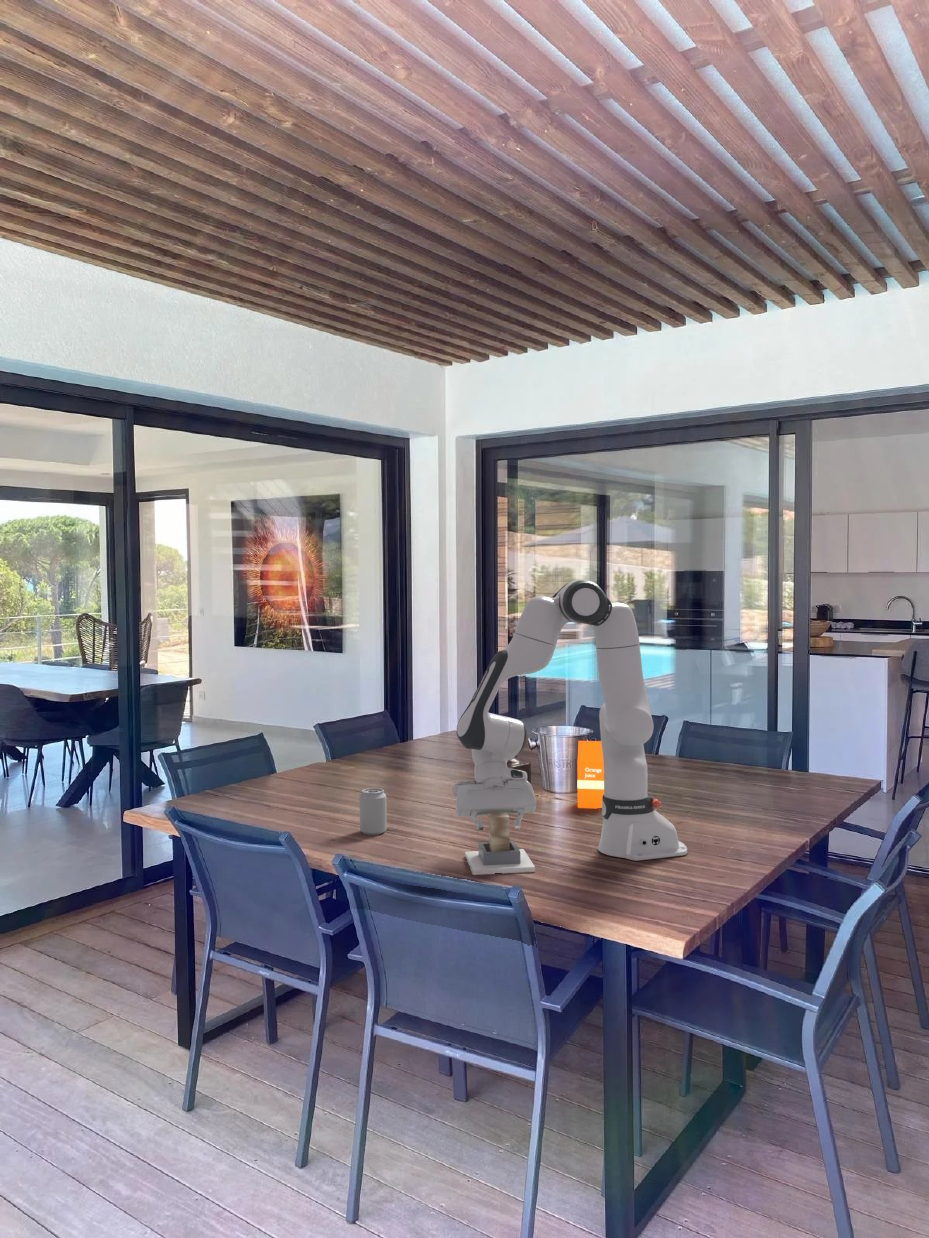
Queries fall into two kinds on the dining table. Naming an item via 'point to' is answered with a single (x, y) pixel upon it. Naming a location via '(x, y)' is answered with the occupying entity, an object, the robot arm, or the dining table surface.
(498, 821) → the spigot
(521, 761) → the manual coffee grinder
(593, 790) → the orange juice
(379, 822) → the can
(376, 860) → the dining table surface
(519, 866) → the dock
